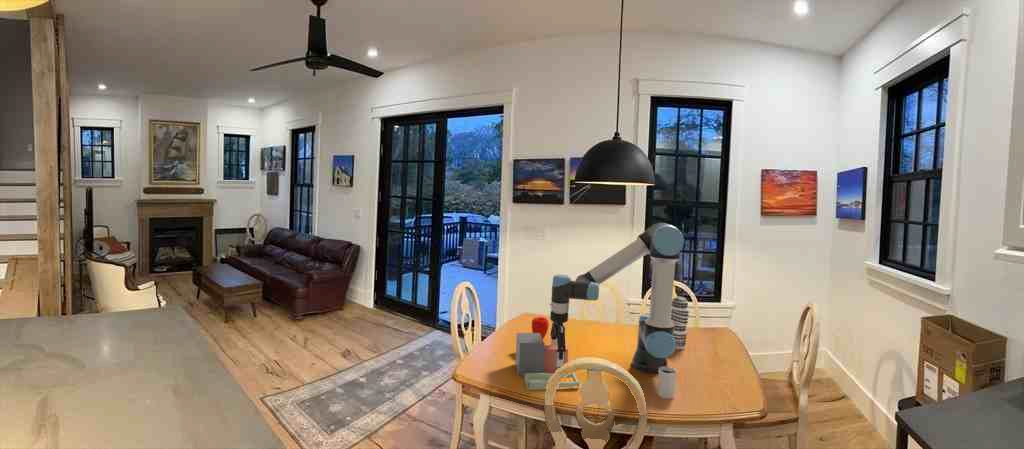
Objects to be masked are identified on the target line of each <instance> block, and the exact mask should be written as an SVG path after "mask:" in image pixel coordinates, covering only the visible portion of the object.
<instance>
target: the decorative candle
mask: <svg viewBox="0 0 1024 449" xmlns="http://www.w3.org/2000/svg"><path fill="white" fill-rule="evenodd" d="M688 305H689V300H688V299H687V298H686V297H684V296H674V297H672V310H671V321H672V322H673V323H674V336H673V337H674V339H675V344H676V346H675V350H676V349H677V350H684V349H686V347H687V346H686V345H687V340H686V339H687V335H688V334H687V326H688V321H689V318H688V317H689V313H690V311H689V310H688V309H689V306H688Z"/></svg>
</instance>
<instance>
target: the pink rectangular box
mask: <svg viewBox="0 0 1024 449" xmlns="http://www.w3.org/2000/svg"><path fill="white" fill-rule="evenodd" d="M561 349H563V348H561ZM556 350H558V344H557V345H551V344H550V345H549V344H547V345H546V344H545V347H544V362H543V373H556V372H555V371H556V370H557V369H558V368H560V367H557V366H556V362H557V352H556ZM565 350H566V351H565V352H564V360H563V365H564V364H565V363H567V364H568V362H569V361H568V360H569V357H568V356H569V349H568V347H567V345H565Z"/></svg>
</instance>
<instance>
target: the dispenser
mask: <svg viewBox="0 0 1024 449" xmlns="http://www.w3.org/2000/svg"><path fill="white" fill-rule="evenodd" d="M515 343H516V344H515V367H516V368H515V369H516V371H517V375H518V377H524V375H525V373H544V372H543V362H544V347H545V345H546V343H545V341H544V338H542V337H541V335H540V333H533V332H516V342H515Z"/></svg>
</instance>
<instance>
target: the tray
mask: <svg viewBox="0 0 1024 449" xmlns="http://www.w3.org/2000/svg"><path fill="white" fill-rule="evenodd" d="M554 373H555V372H543V373H525V375H524V376H523V377H524V380H523V381H524V383H525V386H526V389H527V390H547V389H546V386H547V384H548V380H549V378H550V377H551V376H552V375H553V374H554ZM571 373H572V374H570V375H568V376H567V377H566V378H570V377H572V378H573V380H574V382H561V383H560V384H559V388H561V387H573V386H579V387H580V381H579V380H578V379H577V377H576V374H575V373H574V372H571Z"/></svg>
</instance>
